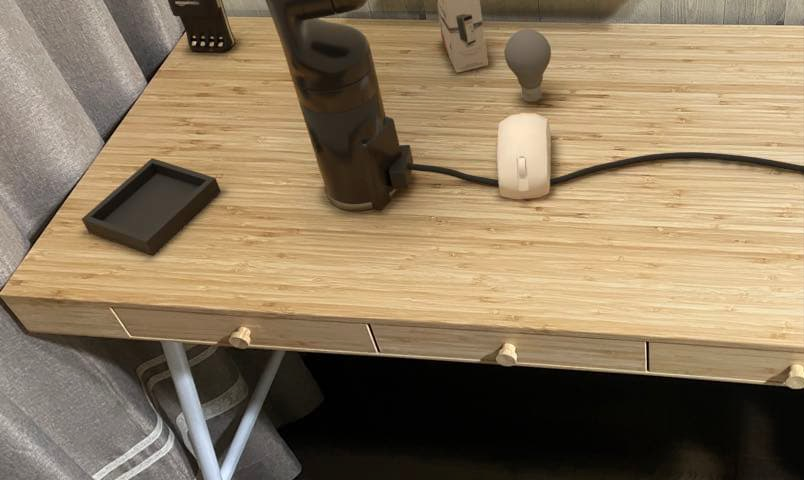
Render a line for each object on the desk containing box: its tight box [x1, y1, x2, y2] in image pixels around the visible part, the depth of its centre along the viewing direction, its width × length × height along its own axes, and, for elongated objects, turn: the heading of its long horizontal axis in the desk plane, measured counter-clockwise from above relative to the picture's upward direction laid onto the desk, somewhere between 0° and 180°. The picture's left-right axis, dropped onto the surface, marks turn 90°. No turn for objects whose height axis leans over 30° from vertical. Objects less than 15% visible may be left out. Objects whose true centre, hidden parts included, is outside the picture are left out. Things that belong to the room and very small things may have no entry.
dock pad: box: [81, 157, 221, 256], centre depth 124 cm, size 11×13×2 cm
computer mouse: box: [496, 112, 552, 200], centre depth 123 cm, size 6×13×6 cm, turn 0°
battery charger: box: [167, 0, 236, 53], centre depth 146 cm, size 7×4×11 cm, turn 80°
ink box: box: [435, 0, 489, 73], centre depth 139 cm, size 9×5×12 cm, turn 17°
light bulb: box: [503, 28, 552, 102], centre depth 131 cm, size 6×6×10 cm
